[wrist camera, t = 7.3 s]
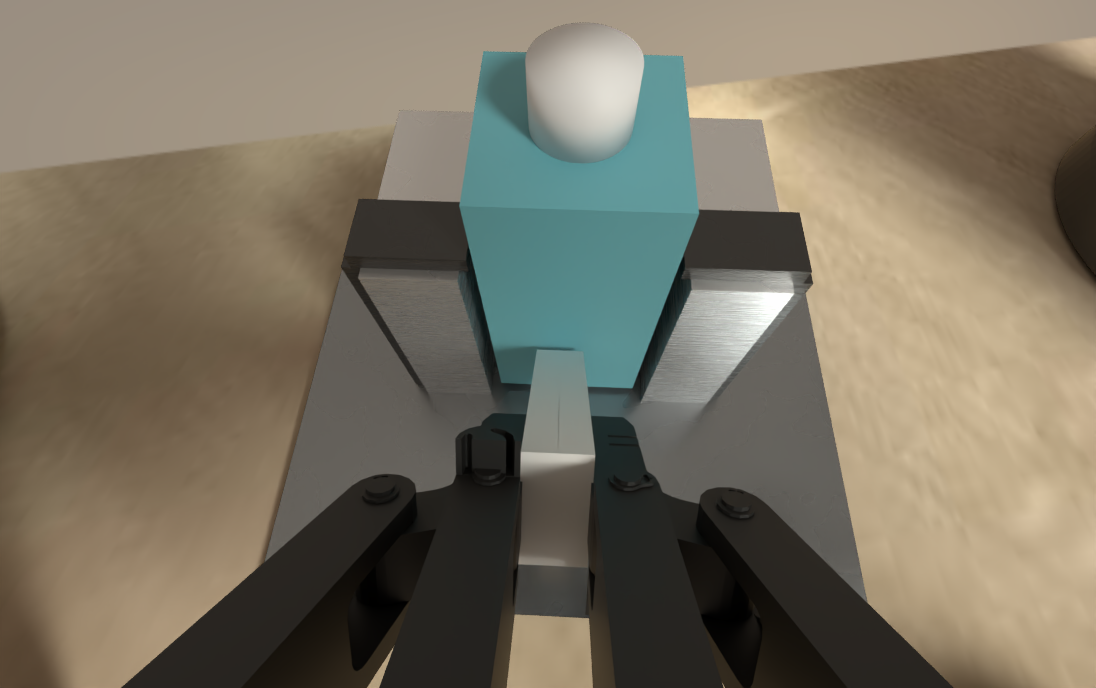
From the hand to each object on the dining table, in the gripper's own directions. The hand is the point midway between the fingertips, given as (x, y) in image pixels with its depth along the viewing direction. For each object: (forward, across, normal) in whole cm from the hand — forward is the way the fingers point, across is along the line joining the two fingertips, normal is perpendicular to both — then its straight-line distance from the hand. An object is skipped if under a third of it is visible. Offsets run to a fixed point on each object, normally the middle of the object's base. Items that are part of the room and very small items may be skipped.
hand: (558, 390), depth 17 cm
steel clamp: (+3, 0, -2) cm, 4 cm away
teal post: (+6, 0, +1) cm, 6 cm away
